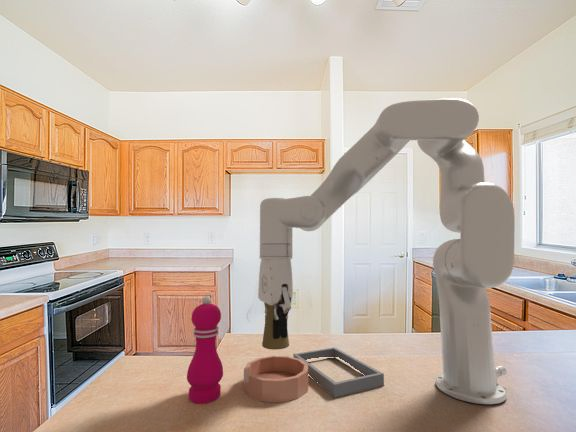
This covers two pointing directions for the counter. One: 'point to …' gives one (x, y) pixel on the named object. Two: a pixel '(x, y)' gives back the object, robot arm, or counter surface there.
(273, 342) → the olive pestle
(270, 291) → the robot arm
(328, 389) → the grey rectangular frame
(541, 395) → the counter surface
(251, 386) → the bowl
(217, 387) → the pepper mill
